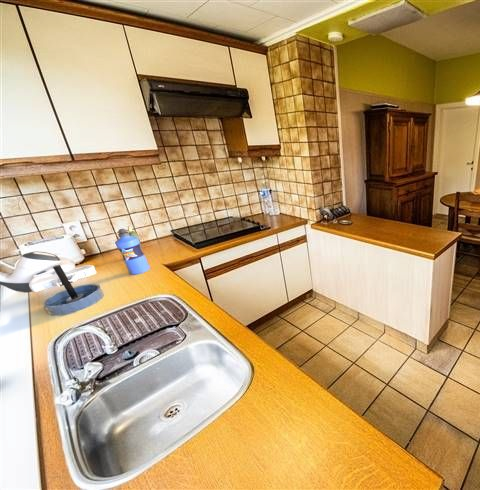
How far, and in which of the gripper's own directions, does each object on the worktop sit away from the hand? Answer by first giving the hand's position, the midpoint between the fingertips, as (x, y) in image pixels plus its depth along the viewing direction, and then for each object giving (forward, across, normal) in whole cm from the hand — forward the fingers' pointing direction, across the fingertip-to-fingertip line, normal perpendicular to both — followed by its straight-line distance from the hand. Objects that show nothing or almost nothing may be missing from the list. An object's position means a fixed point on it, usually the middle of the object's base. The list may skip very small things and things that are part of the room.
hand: (65, 282), depth 115 cm
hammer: (-1, 0, -10) cm, 10 cm away
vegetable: (-45, -32, -12) cm, 56 cm away
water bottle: (-18, -26, -12) cm, 34 cm away
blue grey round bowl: (+1, 0, -12) cm, 12 cm away
